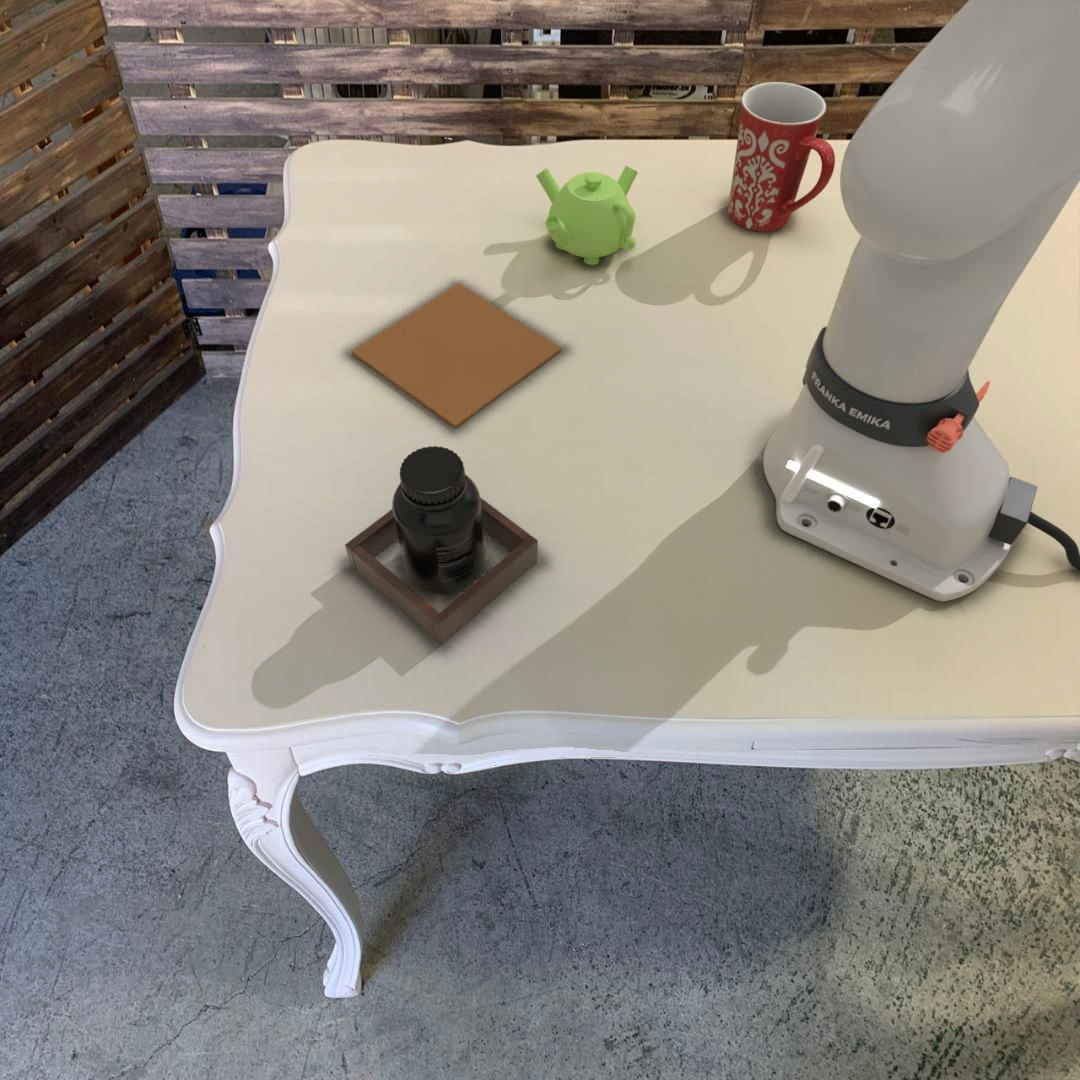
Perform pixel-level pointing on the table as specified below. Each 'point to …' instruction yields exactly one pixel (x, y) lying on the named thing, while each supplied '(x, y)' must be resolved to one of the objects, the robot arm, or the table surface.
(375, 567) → the frame
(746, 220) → the mug
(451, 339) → the cork mat
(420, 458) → the supplement bottle
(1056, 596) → the table surface
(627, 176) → the teapot
